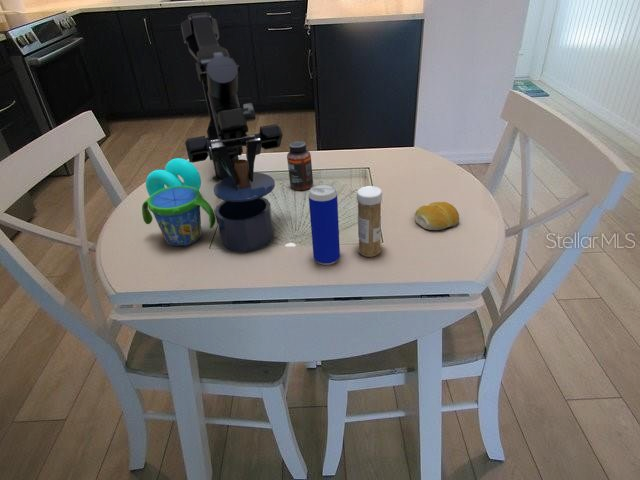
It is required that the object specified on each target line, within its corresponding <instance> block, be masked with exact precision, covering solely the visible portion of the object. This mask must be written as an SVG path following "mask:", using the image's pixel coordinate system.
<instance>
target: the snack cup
mask: <svg viewBox="0 0 640 480" xmlns="http://www.w3.org/2000/svg"><path fill="white" fill-rule="evenodd" d="M201 208H202V209H203V211H205V212H206V213H207V215H208V218H209V221H208V222H209V229H213V227H214V226H215V224H216V216H215V211H214V210H213V208H212V206H211V204H210V203H209V202H208V201H207V200H206V199H205V198H203V197H202V196H201V192H200V189H199V190H198V189H196V188H194V187H191V186H173V187H165V189H161V190H159V191H157V192H155V193H154V194H152V195H151V196H149V197H148V198H147V199H145V200H144V202H143V203H142V206H141V215H142V219H143V222H144V223H145V224H146V225H150V224H151V223H152V222H153V216H154V219H155V221H156V223H157V224H158V226H159V229H160V231H161V233H162V235H163V238H164V240H165V241H166V243H167V244H168V245H170V246H177V247H178V246H188V245H189V244H193V243H194V242H196V241H197V240H199V239H200V238H201V234H202V219H201ZM151 212H152V213H151ZM152 214H153V216H152Z"/></svg>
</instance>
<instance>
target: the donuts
mask: <svg viewBox="0 0 640 480" xmlns="http://www.w3.org/2000/svg"><path fill="white" fill-rule="evenodd" d="M180 177H181V178H180ZM173 186H191V187H194V188H196V189H198V190H199V191H200V189H201V186H202V177H201V174H200V172H199V170H198V168H197V167H196V166H195V165H194V164H193V163H192V162H189V160H187V159H185V158H181V157H175V158H172V159H170V160H169V161H168V162H167V163H166V165H165V167H164V169H155V170H153V171H151V172H149V174H148V175H147V177H146V180H145V188H146V191H147V194H148V196H149V197H150V196H151V195H152V194H154V193H155V192H157V191H159V190H161V189H165V188H168V187H173Z"/></svg>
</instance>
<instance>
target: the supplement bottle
mask: <svg viewBox="0 0 640 480" xmlns="http://www.w3.org/2000/svg"><path fill="white" fill-rule="evenodd" d="M286 160H287V168H288V177H289V185H290V188H291V189H293V190H295V191H304V190H310V189H311V188H312V187H313V186H314V177H313V164H312V154H311V152H310V150H308V149H307V144H306V142H305V141H302V140H298V141H292V142H291V143H290V144H289V152H287V155H286Z"/></svg>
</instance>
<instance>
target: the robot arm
mask: <svg viewBox="0 0 640 480" xmlns="http://www.w3.org/2000/svg"><path fill="white" fill-rule="evenodd" d="M217 22H218V21H217V19H216V18H214V17H212V15H211V13H210V12H206V11H205V12H197V13H191V14H188V15H187V18H186V19H185V20H183V21H182V22H181V23H180V27H181V28H180V29H181V34H182V39H183V43H184V44H187V45H186V46H187V49H188V53H190V55H191V56H192V57H193V58H194V59H195V60H196V62H195V68H196V69H195V70H196V74H197V78H198V81H199V82H201V85H202V89H203V93H204V97H205V102H206V107H207V112H208V116H209V122H208V126H207V129H206V135H201V136H196V137H189V138H187V139H186V140H185V142H184V144H185V148H186V152H187V153H186V154H187V157H188V161H189V162H190V163H192V164H193V163H198V162H204V161H206V160H207V159H208V158H209V161H210V162H211V161H212V164H213V169H214V173H215V174H214V176H212V180H214V181H220V180H222V179H224V178H226V177H228V176H230V177H231V178H232V180H233V181H234V183H235V184H236V185H238V180H237V176H236V173H235V168H234V162H235V161H236V160H240V158H239V156H242V155H243V154H244V150H243V147H245V149H246V151H245V157H246V160H247V164H248V170H249V177H250V181H251V182H253V172H255V171H254V170H255V169H254V168H255V161H256V156H258V155H260V154H261V151H262V149H263V150H272V149H277V148H279V147H281V144H282V139H283V132H282V128H281V127H280V125H278V124H277V123H274V124H268V125H262V126H259V131H258V133H253V134H248V132H249V127H248V123H249V122H254V121H255V120H256V119H257V118H256V112H255V108H254V104H253V102H248V103H243V104H242V105H240V101H239V98H238V97H239V96H238V90H239V74H241V66H240V65H239V64H238V63H237V62H236V61H235V59H234V58H233V57H230V53H229V52H228V49H227V48H225V47H222V46H221V45H220V44H219V42H218V41H219V39H220V32H219V26H218V23H217Z"/></svg>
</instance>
